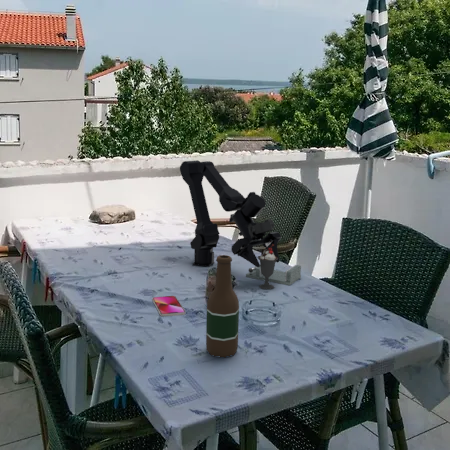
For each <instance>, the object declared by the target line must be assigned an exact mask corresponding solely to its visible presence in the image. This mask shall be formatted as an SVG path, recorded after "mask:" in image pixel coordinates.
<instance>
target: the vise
mask: <svg viewBox="0 0 450 450" xmlns="http://www.w3.org/2000/svg"><path fill="white" fill-rule="evenodd" d="M301 272H302V265H299V264H295V265H293V266H291V267H290V268H288V269H287V270H285V271H281V270H276V269H274V272H273V274H272V275H271V276H270V277H269V283H277V284H281V285H285V286H291V285H292V284H295V282H297V281H298V280H300V279H301V278H302V274H301ZM245 277H246V278H250V279H255V280H260V281H265V277H264V276H263V275H262V273H261V267H260V266H259V267H256V266H255V265H254V267H250V268H248V272H247V273H246V274H245Z"/></svg>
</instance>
